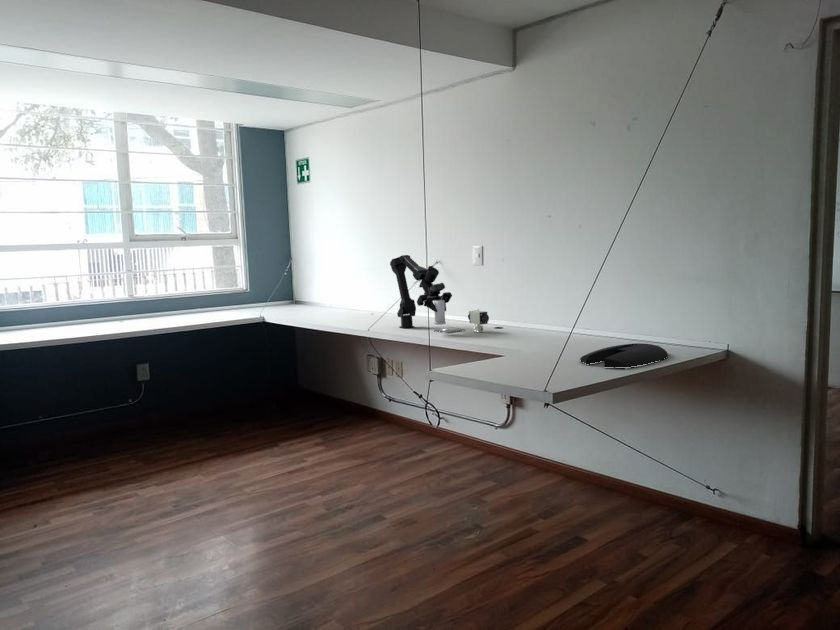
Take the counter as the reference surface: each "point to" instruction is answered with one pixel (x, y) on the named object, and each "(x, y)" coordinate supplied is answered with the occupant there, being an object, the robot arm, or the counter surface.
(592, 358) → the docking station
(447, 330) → the flange plate
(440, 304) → the grey cylinder
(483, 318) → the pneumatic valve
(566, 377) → the counter surface
